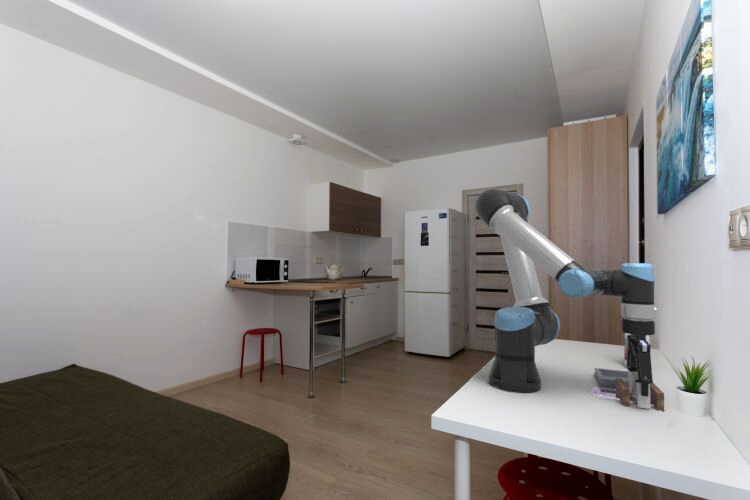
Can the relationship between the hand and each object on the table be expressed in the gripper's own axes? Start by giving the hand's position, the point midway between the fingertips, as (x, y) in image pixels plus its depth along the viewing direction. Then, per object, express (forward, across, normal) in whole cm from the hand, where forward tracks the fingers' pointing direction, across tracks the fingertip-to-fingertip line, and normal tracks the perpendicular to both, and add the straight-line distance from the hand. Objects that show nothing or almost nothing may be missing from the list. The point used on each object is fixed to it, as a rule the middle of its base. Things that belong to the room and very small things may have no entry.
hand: (639, 401), depth 103 cm
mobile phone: (+1, +3, +4) cm, 5 cm away
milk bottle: (0, +40, -8) cm, 41 cm away
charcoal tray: (0, +17, +1) cm, 17 cm away
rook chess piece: (0, 0, 0) cm, 0 cm away
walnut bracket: (0, 0, 0) cm, 0 cm away
